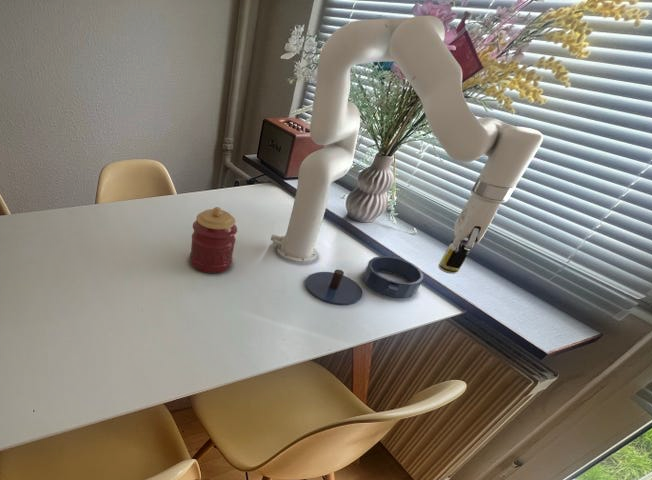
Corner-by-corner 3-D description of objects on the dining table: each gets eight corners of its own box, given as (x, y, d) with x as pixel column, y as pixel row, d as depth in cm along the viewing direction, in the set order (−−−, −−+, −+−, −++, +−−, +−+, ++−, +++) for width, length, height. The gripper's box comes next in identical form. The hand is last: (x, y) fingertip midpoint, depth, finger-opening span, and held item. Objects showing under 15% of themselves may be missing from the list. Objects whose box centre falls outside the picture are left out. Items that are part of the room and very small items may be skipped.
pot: (358, 295, 123) (365, 280, 120) (365, 262, 138) (371, 247, 134) (414, 310, 120) (423, 294, 116) (415, 275, 134) (423, 260, 130)
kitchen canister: (210, 279, 125) (217, 222, 113) (180, 260, 132) (184, 204, 120) (240, 265, 132) (250, 210, 120) (210, 248, 139) (217, 194, 127)
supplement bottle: (459, 275, 108) (477, 245, 102) (440, 272, 108) (457, 242, 103) (454, 266, 111) (471, 236, 106) (435, 263, 112) (451, 233, 106)
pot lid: (299, 297, 121) (305, 278, 117) (310, 270, 132) (315, 252, 128) (358, 313, 117) (366, 294, 113) (363, 283, 128) (371, 265, 124)
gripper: (471, 174, 103) (435, 243, 115) (477, 199, 91) (436, 273, 104) (505, 180, 101) (465, 250, 113) (516, 207, 89) (470, 281, 102)
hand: (452, 260), depth 108 cm, fingers closed on supplement bottle, 4 cm apart
